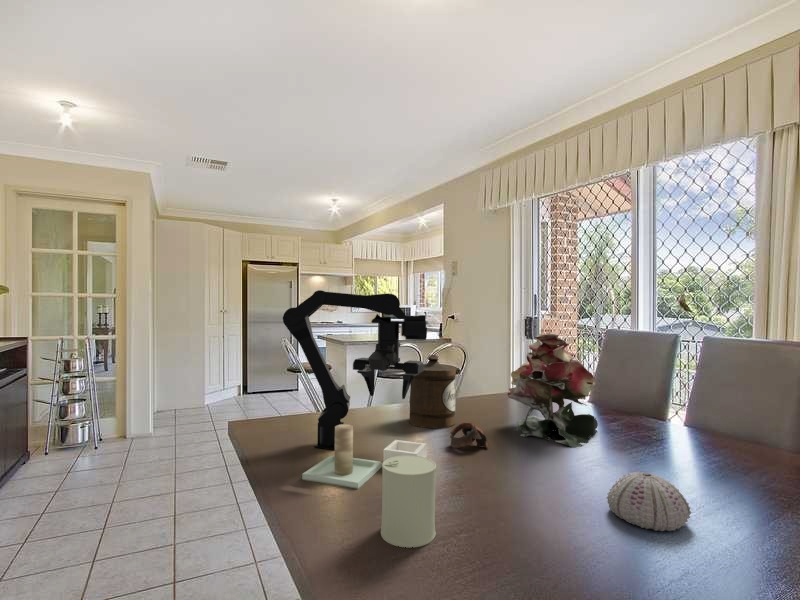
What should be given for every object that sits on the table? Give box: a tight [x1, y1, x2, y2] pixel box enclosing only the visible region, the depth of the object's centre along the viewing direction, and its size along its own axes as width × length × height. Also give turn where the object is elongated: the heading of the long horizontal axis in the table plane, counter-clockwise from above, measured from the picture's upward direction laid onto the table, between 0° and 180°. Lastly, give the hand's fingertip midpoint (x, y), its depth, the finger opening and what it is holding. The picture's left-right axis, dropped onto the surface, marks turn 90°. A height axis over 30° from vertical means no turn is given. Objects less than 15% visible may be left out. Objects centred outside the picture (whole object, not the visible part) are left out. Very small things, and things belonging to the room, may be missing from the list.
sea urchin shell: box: [606, 471, 692, 532], centre depth 82 cm, size 13×14×8 cm
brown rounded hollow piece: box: [449, 421, 489, 450], centre depth 120 cm, size 12×10×8 cm
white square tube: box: [382, 439, 428, 463], centre depth 105 cm, size 8×8×5 cm
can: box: [380, 455, 437, 549], centre depth 75 cm, size 9×9×12 cm
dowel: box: [334, 424, 354, 476], centre depth 99 cm, size 4×4×10 cm
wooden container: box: [409, 354, 457, 429], centre depth 146 cm, size 15×15×22 cm
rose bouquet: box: [507, 333, 599, 449], centre depth 139 cm, size 26×29×30 cm
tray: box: [301, 454, 383, 490], centre depth 99 cm, size 13×13×2 cm
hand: (387, 397), depth 121 cm, fingers open, 9 cm apart
